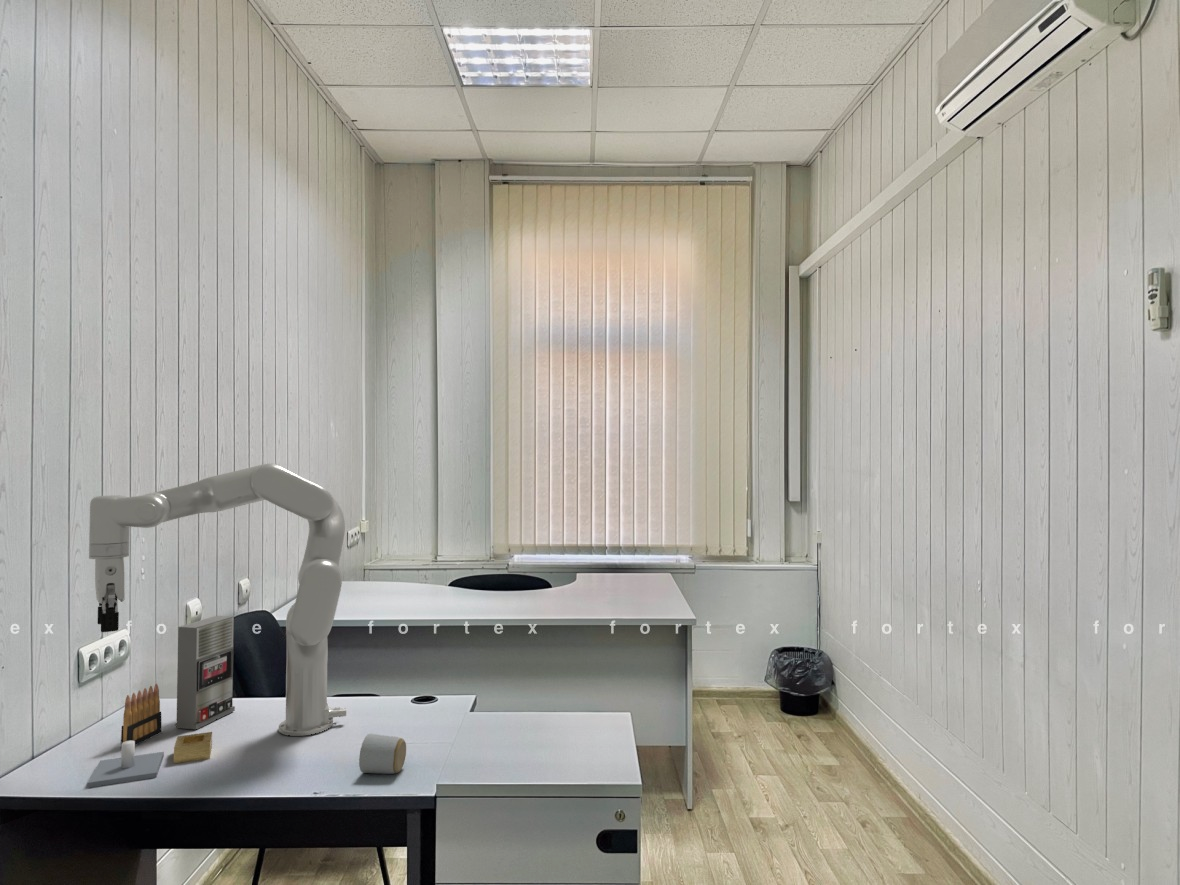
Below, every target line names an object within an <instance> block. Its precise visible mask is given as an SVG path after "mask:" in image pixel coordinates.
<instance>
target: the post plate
mask: <svg viewBox="0 0 1180 885" xmlns="http://www.w3.org/2000/svg"><path fill="white" fill-rule="evenodd" d="M135 746H136V745H135V741H125V742H123V743H122V744H121V743H120V749H121V752H120V755H121V756H120V757H116V758H115V757H114V758H108V759H102V760H101V759H100V760H99V761H98V763H97V766H96V767H95V769H94V770H93V773H92V774H91V776H90V778H89V780H88V782H87V788H88V787H89V788H94V787H93V786H96V787H100V786H101V785H103V786H108V785H116V784H122V783H127V782H134V781H143V780H147V779H148V780H149V779H154V778H157V777H158V774H159V772H160V768H161V765H162V762H163V761H164V760H163V759H164V755H165V752H164V751H159V752H153V753H151V752H150V753H145V754H138V755H136V754H135V753H136V751H135V750H136V749H135V748H136V747H135Z"/></svg>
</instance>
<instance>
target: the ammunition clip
mask: <svg viewBox="0 0 1180 885" xmlns="http://www.w3.org/2000/svg"><path fill="white" fill-rule="evenodd" d="M160 701H161V700H160V690H159V685H158V683H155V685H154V687H153V686H152V685H150V686H149V688H148V690H147V688H144V689H143V691H141V690H140V689H139V690H138V692H137V695H136V693H135V692H133V693H132V695H131V697H130V695H129V694H128V695H126V697H125V701H124V712H123V718H122V720H123V722H122V725H121V730H120V731H121V735H120V745H121V744H122V743H123V742H125V741H135V746H137V745H139V744H141V743H143V742H146V741H148V740H150V739H152V738H153V737H155V736H157V735H159V734H161V733H162V730H163V729H162V711H161V702H160Z"/></svg>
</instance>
